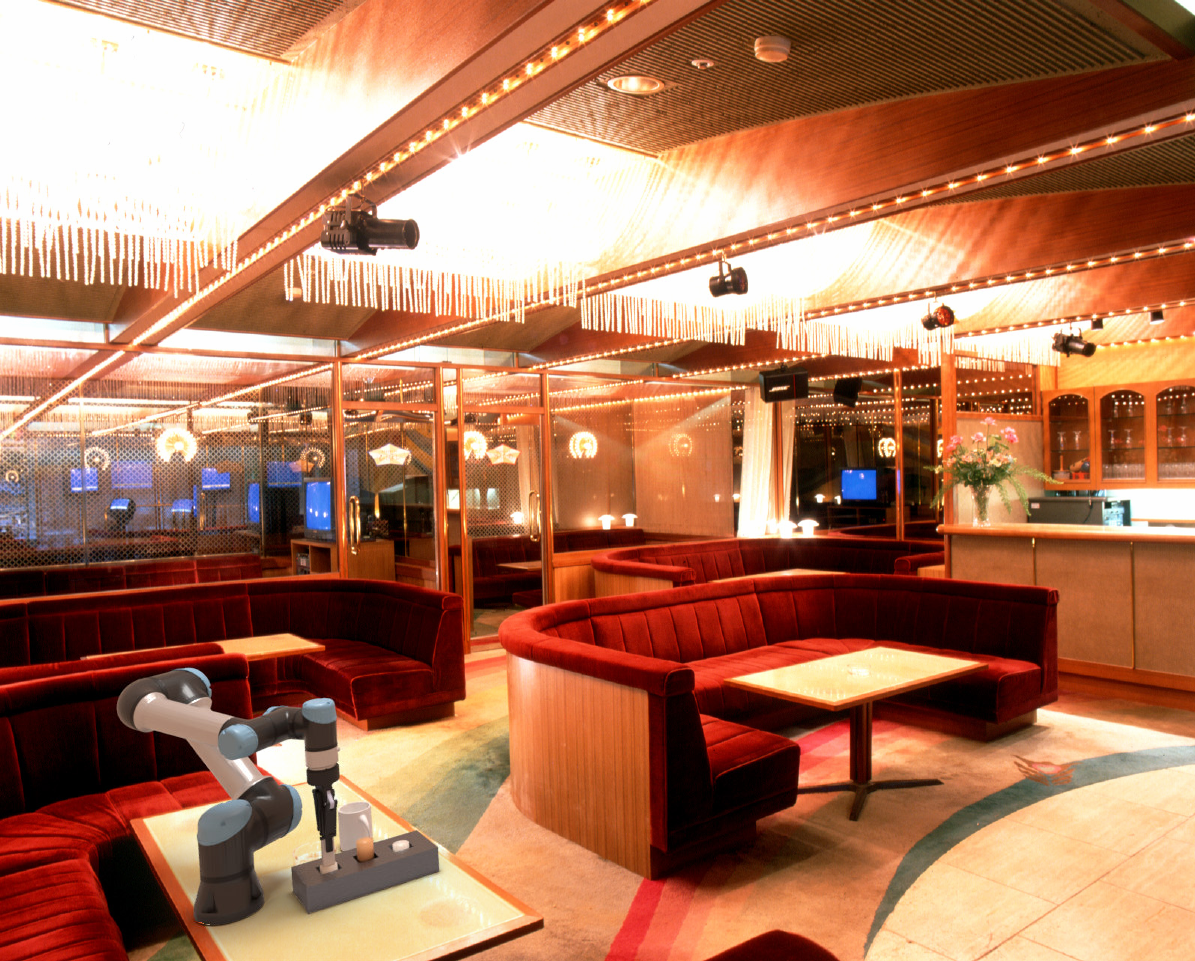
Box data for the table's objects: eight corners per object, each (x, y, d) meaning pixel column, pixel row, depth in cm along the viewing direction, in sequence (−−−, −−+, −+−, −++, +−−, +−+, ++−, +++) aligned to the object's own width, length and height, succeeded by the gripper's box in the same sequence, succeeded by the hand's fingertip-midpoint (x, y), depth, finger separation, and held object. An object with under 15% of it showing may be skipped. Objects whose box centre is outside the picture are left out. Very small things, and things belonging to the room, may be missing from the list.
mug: (355, 859, 220) (353, 818, 221) (334, 847, 229) (332, 808, 229) (385, 848, 226) (382, 808, 226) (363, 837, 235) (361, 798, 235)
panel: (308, 913, 193) (306, 887, 193) (292, 891, 204) (291, 866, 204) (439, 871, 211) (438, 846, 211) (418, 852, 222) (416, 830, 222)
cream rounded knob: (397, 868, 210) (395, 848, 210) (391, 862, 213) (390, 843, 213) (412, 863, 212) (411, 843, 212) (406, 858, 215) (405, 838, 215)
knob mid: (360, 865, 205) (359, 845, 205) (355, 860, 208) (354, 840, 208) (376, 861, 207) (375, 840, 207) (371, 855, 210) (369, 835, 210)
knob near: (323, 891, 200) (322, 870, 200) (319, 885, 203) (317, 864, 203) (340, 885, 202) (339, 865, 202) (335, 880, 205) (334, 859, 205)
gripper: (346, 767, 199) (352, 868, 199) (330, 755, 210) (336, 850, 210) (314, 775, 195) (320, 878, 195) (299, 762, 206) (305, 859, 206)
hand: (328, 863), depth 203 cm, fingers closed
